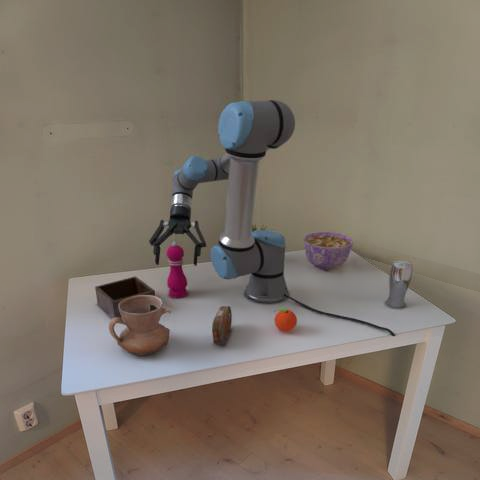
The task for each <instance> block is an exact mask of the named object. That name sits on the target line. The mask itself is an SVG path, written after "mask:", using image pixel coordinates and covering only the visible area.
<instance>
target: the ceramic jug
mask: <svg viewBox="0 0 480 480" xmlns="http://www.w3.org/2000/svg"><path fill="white" fill-rule="evenodd" d="M150 305H153V306H155V307H157V309H154V310H151V309H150ZM118 308H119V312H120V314H121V318H120V317H116V318H113V319H112V318H111V320H109V323H108V331H109V333H110V336H111V337H112V338H114V340H115V341H116V343H117V345H118V346H119V347H120V348H121V349H122V350H124V351H125V352H127V353H130V354H132V355H139V356H144V355H145V356H146V355H151V354H155V353H157V352H159V351H161V350H163V349H164V348H165V347H166V346H167V345H168V343H169V341H170V332H171V329H170V328H168V327H166V326H165V325H163V324H162V323H160V321H161V317H163V315H164V314H168V313H169V314H171V312H172V308H171V307H166V306H165V307H164V305H163V301H162V299H161V298H160V297H158V296H156V295H155V296H152V295H138V296H133V297H130V298H127V299H125V300H123V301H121V302H120V303H119V305H118ZM116 324H121V325H123V326H124V325H125V326H126V327H125V328H124V329H123V330H122V331H121V332H120V334H119V336H118V334H117V333H116V331H115V325H116Z"/></svg>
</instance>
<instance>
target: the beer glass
mask: <svg viewBox="0 0 480 480" xmlns="http://www.w3.org/2000/svg"><path fill="white" fill-rule="evenodd" d="M413 268H414V264H413V263H411V262H410V261H405V260H394V261H393V262H392V265H391V268H390V272H389V278H388V285H389V287H388V289H389V291H388V298H387V299H386V301H385V305H386V306H388V307H389V308H392V309H402V308H404V307H405V300H406V299H405V298H406V294H407V291H408V289H409V286H410V284H411V281H412V277H413Z"/></svg>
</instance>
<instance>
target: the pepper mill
mask: <svg viewBox="0 0 480 480" xmlns="http://www.w3.org/2000/svg"><path fill="white" fill-rule="evenodd" d="M184 256H185V251H184V249H183V247H182V246H180V245H178V243H177V241H173V242H172V243H171V246H169V247H168V248H167V249H166V257H167V258H168V265H169V267H170V268H169V275H168V277H167V280H166V286H167V288H168V294H169V297H170V298H173V299H181V298H184V297H186V296H187V294H188V293H187V287H188V279H187V276H186V274H185V273H184V270H183V264H184V259H183V258H184Z"/></svg>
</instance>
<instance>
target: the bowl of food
mask: <svg viewBox="0 0 480 480" xmlns="http://www.w3.org/2000/svg"><path fill="white" fill-rule="evenodd" d="M303 244H304V251H305V257H306V259H307V261H308V262H309V264H311V265H312V266H314V267H316V268H317V269H320V270H323V271H332V270H334V269H337V268H339V267H343V266H344V264H345V263H346V262H347V260H348V258H349V256H350V253H351V251H352V248H353V245H354V239H353V238H352V237H350V236H348V235H347V234H343V233H339V232H331V231H317V232H311V233H308V234H306V235H304V237H303Z"/></svg>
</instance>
